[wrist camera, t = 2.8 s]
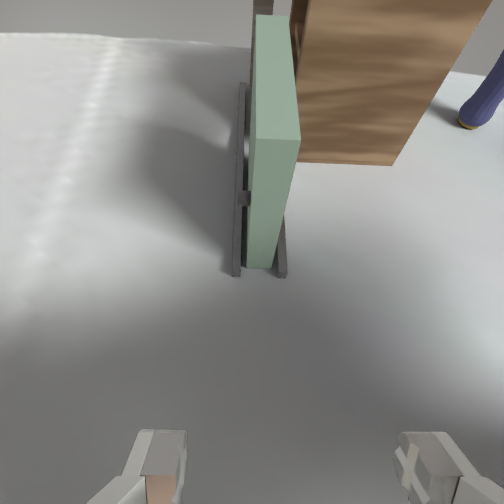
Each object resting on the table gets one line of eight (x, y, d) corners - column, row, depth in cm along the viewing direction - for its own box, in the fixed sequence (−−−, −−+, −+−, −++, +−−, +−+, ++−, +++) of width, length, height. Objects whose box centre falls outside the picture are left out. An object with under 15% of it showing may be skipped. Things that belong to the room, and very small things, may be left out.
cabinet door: (271, 268, 31) (301, 140, 17) (236, 267, 31) (238, 137, 17) (268, 158, 38) (287, 7, 25) (240, 157, 38) (243, 4, 24)
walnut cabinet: (391, 165, 39) (519, -45, 21) (248, 159, 38) (260, -63, 21) (368, 88, 47) (448, -111, 29) (249, 82, 46) (259, -126, 29)
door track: (285, 277, 30) (287, 272, 29) (232, 276, 30) (231, 271, 29) (275, 92, 45) (276, 84, 44) (239, 90, 45) (240, 82, 44)
